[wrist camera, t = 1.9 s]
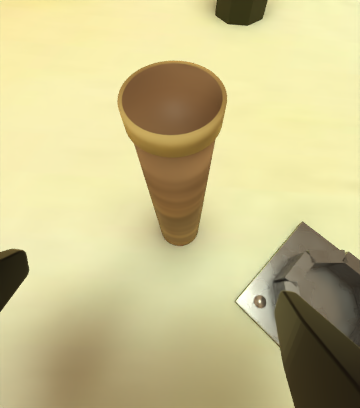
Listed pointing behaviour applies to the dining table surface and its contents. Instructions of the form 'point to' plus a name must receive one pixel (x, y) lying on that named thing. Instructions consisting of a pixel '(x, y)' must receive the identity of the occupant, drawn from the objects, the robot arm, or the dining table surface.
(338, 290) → the cup bracket
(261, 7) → the wine bottle
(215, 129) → the tall ribbed vase
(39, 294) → the dining table surface
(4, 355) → the dining table surface
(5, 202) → the dining table surface
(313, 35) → the dining table surface
